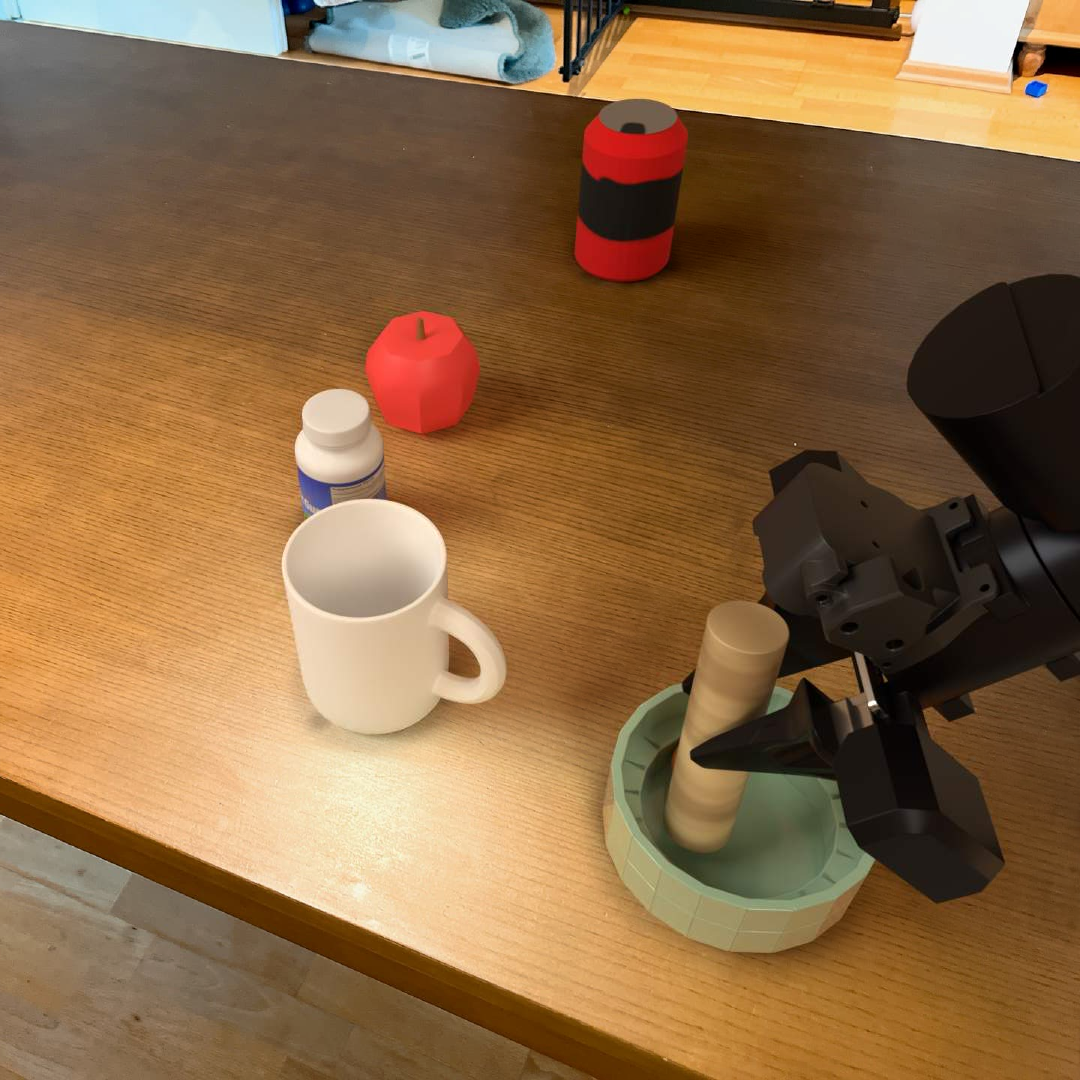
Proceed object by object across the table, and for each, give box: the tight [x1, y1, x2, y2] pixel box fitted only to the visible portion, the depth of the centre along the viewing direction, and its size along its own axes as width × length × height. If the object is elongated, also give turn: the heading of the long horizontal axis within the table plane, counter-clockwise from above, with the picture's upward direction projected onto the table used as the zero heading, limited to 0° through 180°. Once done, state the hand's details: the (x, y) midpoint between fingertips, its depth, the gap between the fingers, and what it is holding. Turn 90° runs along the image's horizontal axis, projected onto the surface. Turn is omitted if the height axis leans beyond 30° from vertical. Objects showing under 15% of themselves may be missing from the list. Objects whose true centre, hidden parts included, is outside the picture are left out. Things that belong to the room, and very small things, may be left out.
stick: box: [663, 599, 789, 853], centre depth 47 cm, size 3×3×13 cm
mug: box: [281, 499, 508, 735], centre depth 56 cm, size 12×8×10 cm
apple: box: [364, 310, 482, 435], centre depth 73 cm, size 8×8×8 cm
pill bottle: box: [294, 388, 387, 521], centre depth 66 cm, size 5×5×10 cm
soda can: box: [574, 98, 689, 283], centre depth 83 cm, size 8×8×12 cm
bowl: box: [602, 682, 876, 954], centre depth 51 cm, size 12×12×5 cm
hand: (691, 724), depth 47 cm, fingers closed on stick, 3 cm apart
